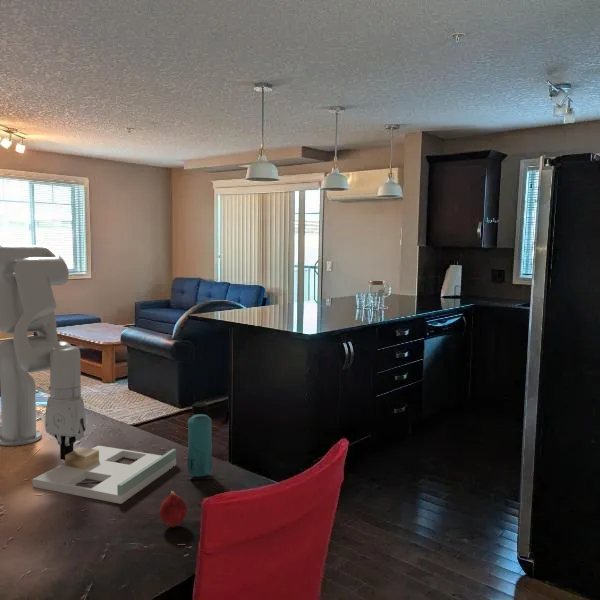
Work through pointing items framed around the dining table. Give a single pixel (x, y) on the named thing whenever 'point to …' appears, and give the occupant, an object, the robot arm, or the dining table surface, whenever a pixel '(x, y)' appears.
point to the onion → (173, 510)
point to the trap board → (109, 475)
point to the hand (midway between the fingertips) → (66, 458)
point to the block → (81, 458)
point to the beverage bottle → (199, 441)
